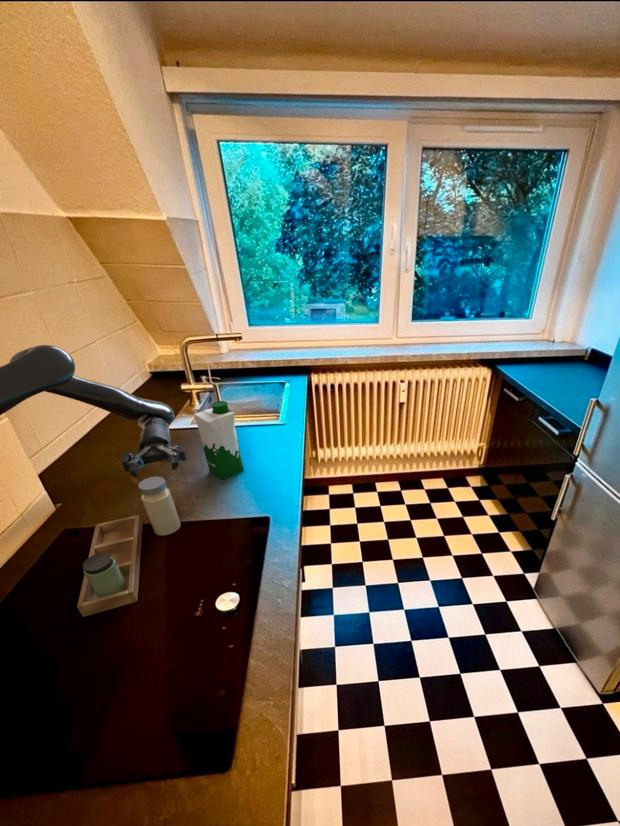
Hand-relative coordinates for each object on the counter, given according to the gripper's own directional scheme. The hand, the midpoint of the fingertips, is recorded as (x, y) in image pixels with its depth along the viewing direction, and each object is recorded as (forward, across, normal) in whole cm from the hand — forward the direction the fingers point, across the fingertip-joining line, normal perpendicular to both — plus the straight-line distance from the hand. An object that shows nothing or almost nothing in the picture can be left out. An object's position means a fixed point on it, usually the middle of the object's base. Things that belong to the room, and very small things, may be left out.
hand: (154, 470), depth 93 cm
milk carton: (-11, +16, +11) cm, 22 cm away
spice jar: (+27, -9, +10) cm, 30 cm away
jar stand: (+19, -10, +10) cm, 24 cm away
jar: (+10, 0, +10) cm, 15 cm away
